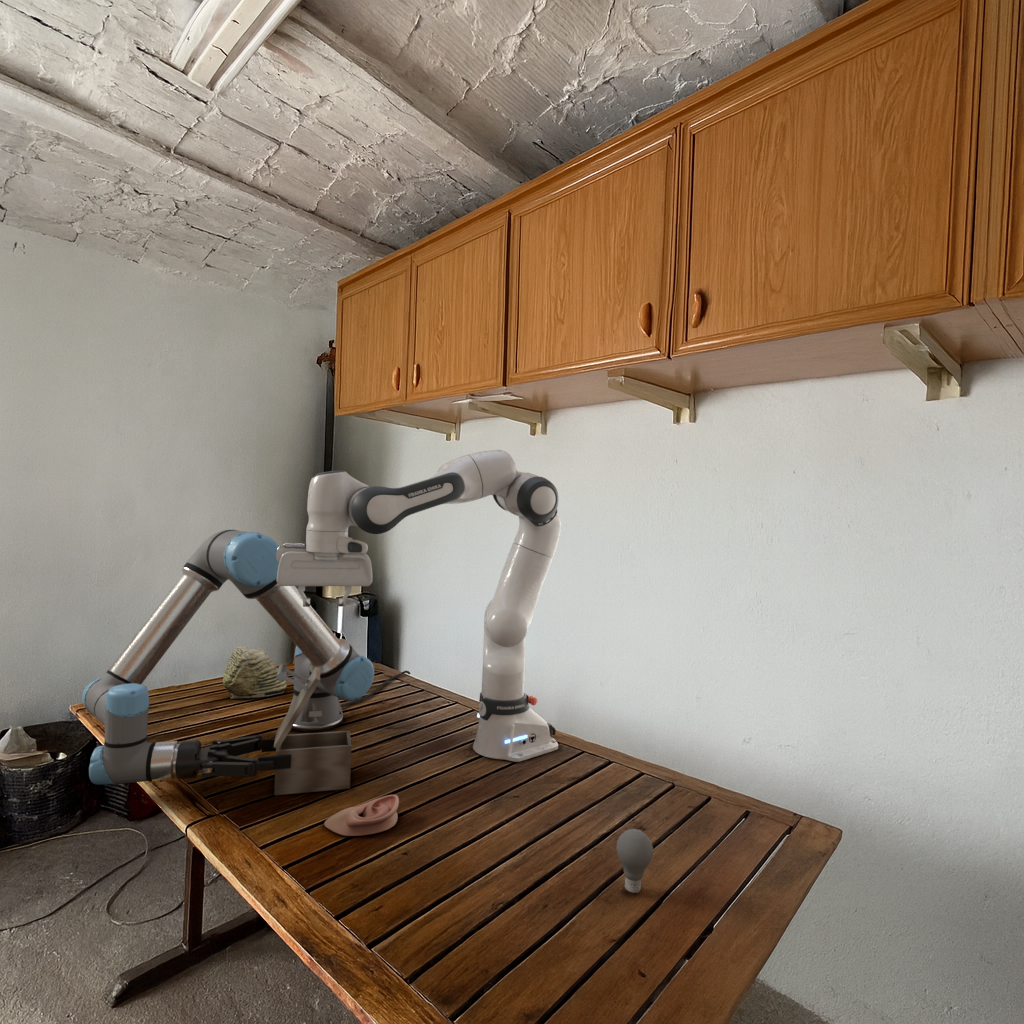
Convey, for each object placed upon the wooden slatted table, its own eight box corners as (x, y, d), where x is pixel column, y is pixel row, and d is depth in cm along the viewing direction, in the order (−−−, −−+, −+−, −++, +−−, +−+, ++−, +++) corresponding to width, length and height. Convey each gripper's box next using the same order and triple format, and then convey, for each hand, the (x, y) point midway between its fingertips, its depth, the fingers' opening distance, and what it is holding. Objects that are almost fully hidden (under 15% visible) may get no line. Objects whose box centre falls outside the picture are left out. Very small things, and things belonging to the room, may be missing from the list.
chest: (348, 770, 147) (349, 730, 147) (349, 788, 138) (351, 745, 138) (277, 776, 142) (278, 735, 142) (274, 795, 133) (275, 751, 133)
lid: (320, 669, 144) (287, 652, 142) (320, 680, 135) (285, 663, 133) (280, 733, 142) (246, 717, 140) (278, 749, 133) (242, 732, 131)
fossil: (218, 695, 195) (220, 647, 195) (278, 685, 208) (279, 640, 207) (228, 703, 189) (230, 653, 188) (289, 692, 201) (290, 645, 201)
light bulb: (610, 879, 108) (613, 822, 108) (644, 879, 109) (647, 822, 109) (619, 902, 102) (622, 840, 102) (655, 901, 103) (658, 840, 103)
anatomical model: (316, 810, 120) (344, 784, 131) (316, 831, 120) (344, 803, 131) (382, 821, 117) (405, 793, 128) (381, 842, 117) (404, 812, 128)
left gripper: (187, 756, 143) (293, 749, 149) (165, 802, 122) (288, 791, 128) (189, 723, 142) (294, 718, 149) (166, 763, 122) (290, 754, 128)
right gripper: (275, 543, 133) (273, 609, 134) (374, 545, 139) (372, 608, 140) (277, 541, 139) (275, 604, 140) (372, 543, 145) (369, 603, 146)
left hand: (291, 752), depth 139 cm, fingers closed on chest, 9 cm apart
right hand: (324, 606), depth 140 cm, fingers open, 6 cm apart
